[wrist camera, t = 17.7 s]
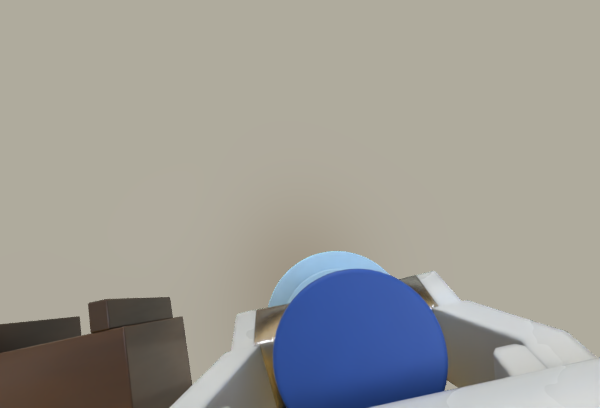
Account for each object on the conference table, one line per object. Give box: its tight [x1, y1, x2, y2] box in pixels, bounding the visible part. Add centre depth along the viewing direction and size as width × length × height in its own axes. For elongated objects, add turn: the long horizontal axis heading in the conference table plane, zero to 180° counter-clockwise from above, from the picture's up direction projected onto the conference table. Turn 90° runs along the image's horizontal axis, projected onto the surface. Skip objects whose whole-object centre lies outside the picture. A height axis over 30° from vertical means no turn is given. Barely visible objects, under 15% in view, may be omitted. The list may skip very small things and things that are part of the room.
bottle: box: [268, 251, 448, 408], centre depth 15 cm, size 17×5×5 cm, turn 178°
